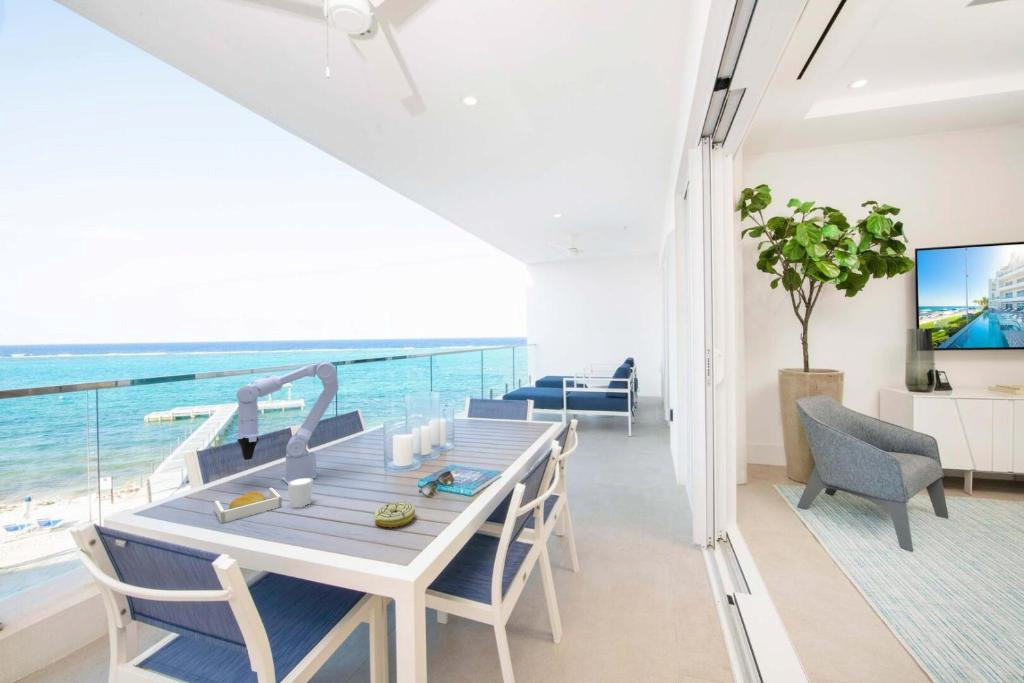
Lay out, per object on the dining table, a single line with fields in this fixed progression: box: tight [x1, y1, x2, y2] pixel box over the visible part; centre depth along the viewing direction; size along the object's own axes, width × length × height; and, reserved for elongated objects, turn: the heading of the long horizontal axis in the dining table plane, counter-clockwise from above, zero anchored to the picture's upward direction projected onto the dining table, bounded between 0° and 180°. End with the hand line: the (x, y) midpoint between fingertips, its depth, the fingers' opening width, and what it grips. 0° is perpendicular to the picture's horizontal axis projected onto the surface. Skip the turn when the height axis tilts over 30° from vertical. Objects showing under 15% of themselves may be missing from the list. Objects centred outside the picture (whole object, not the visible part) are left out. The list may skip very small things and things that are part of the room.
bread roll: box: [228, 491, 267, 510], centre depth 114 cm, size 8×9×4 cm
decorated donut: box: [374, 501, 416, 529], centre depth 106 cm, size 10×11×4 cm
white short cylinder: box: [287, 478, 314, 508], centre depth 116 cm, size 7×7×7 cm
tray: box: [214, 487, 283, 524], centre depth 113 cm, size 15×11×3 cm
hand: (248, 459), depth 131 cm, fingers closed
